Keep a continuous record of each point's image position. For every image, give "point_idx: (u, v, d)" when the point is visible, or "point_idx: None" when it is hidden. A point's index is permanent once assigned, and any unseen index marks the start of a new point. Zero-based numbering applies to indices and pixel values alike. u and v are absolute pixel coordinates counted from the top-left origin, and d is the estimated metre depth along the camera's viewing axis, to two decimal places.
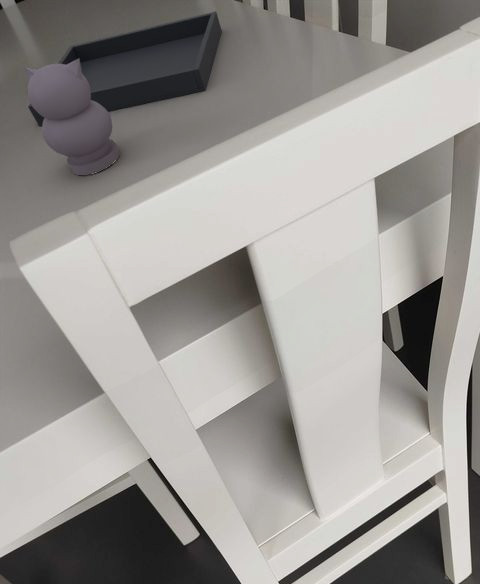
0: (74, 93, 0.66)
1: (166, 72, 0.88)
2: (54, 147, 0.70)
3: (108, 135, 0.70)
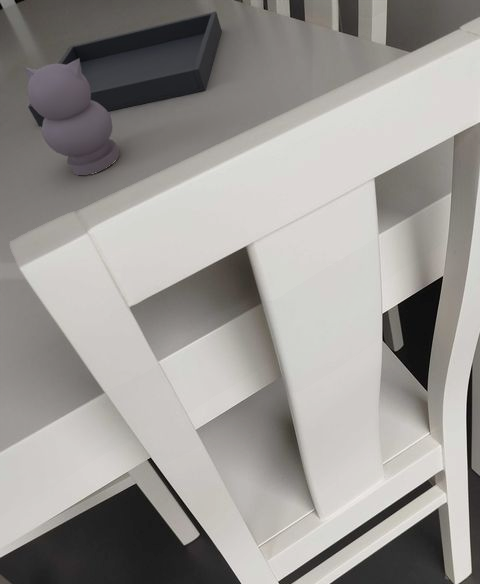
0: (74, 93, 0.66)
1: (166, 72, 0.88)
2: (54, 147, 0.70)
3: (108, 135, 0.70)
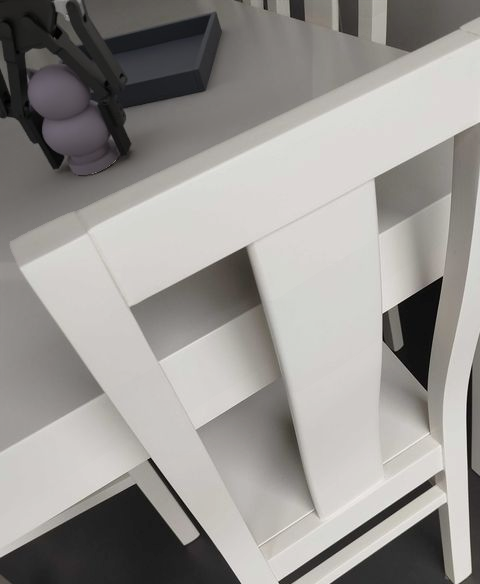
0: (74, 93, 0.66)
1: (166, 72, 0.88)
2: (54, 147, 0.70)
3: (108, 135, 0.70)
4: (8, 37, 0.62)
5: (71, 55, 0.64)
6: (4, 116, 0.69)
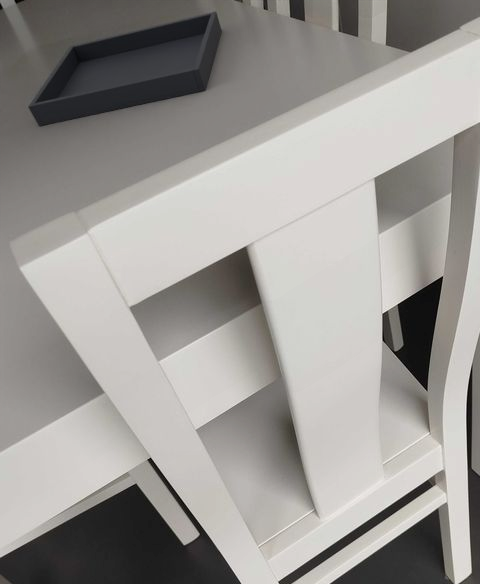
0: None
1: (166, 72, 0.88)
2: None
3: None
4: None
5: None
6: None
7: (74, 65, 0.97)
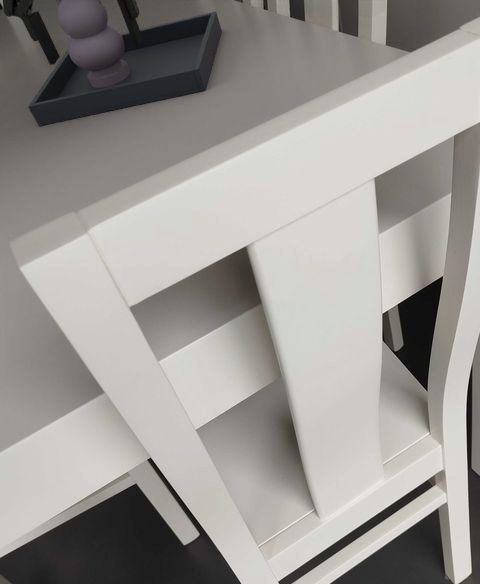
0: (95, 14, 0.83)
1: (166, 72, 0.88)
2: (77, 61, 0.87)
3: (121, 53, 0.88)
4: None
5: None
6: (9, 15, 0.84)
7: (74, 65, 0.97)
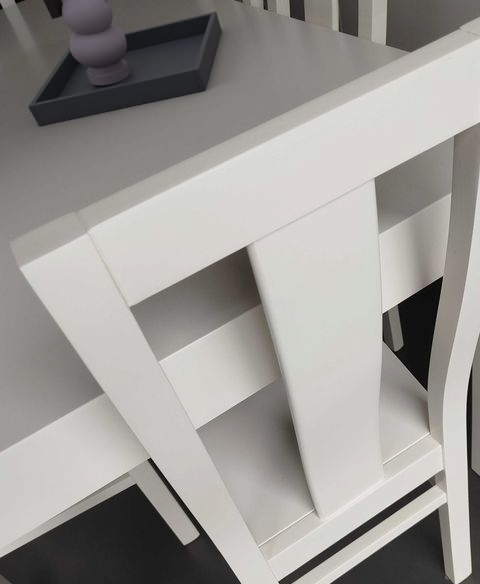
0: (101, 13, 0.83)
1: (166, 72, 0.88)
2: (78, 57, 0.86)
3: (123, 53, 0.88)
4: None
5: None
6: None
7: (74, 65, 0.97)
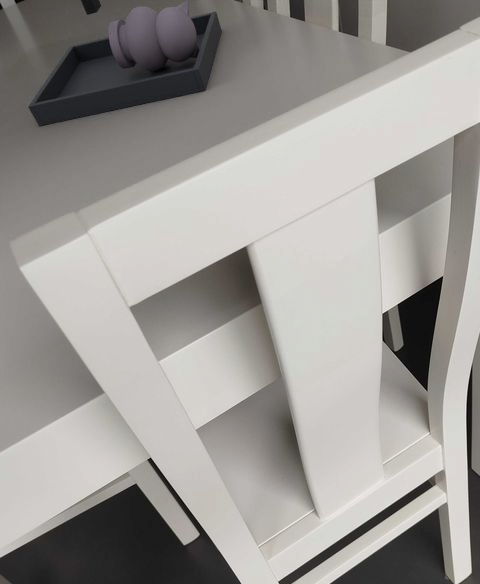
0: (181, 60, 0.86)
1: (166, 72, 0.88)
2: (134, 33, 0.83)
3: None
4: None
5: None
6: None
7: (74, 65, 0.97)
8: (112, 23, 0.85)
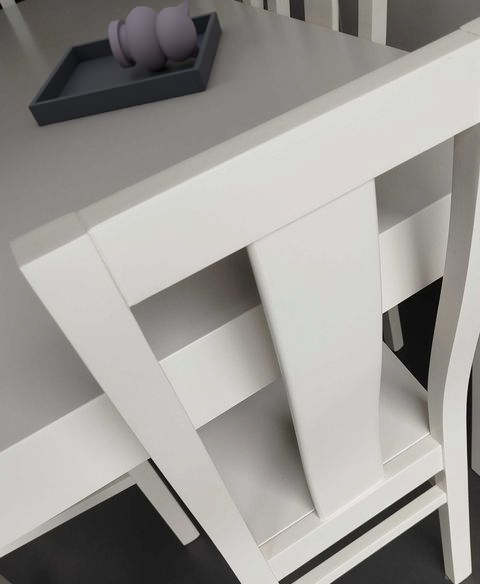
0: (181, 59, 0.86)
1: (166, 72, 0.88)
2: (134, 32, 0.83)
3: None
4: None
5: None
6: None
7: (74, 65, 0.97)
8: (112, 23, 0.85)
